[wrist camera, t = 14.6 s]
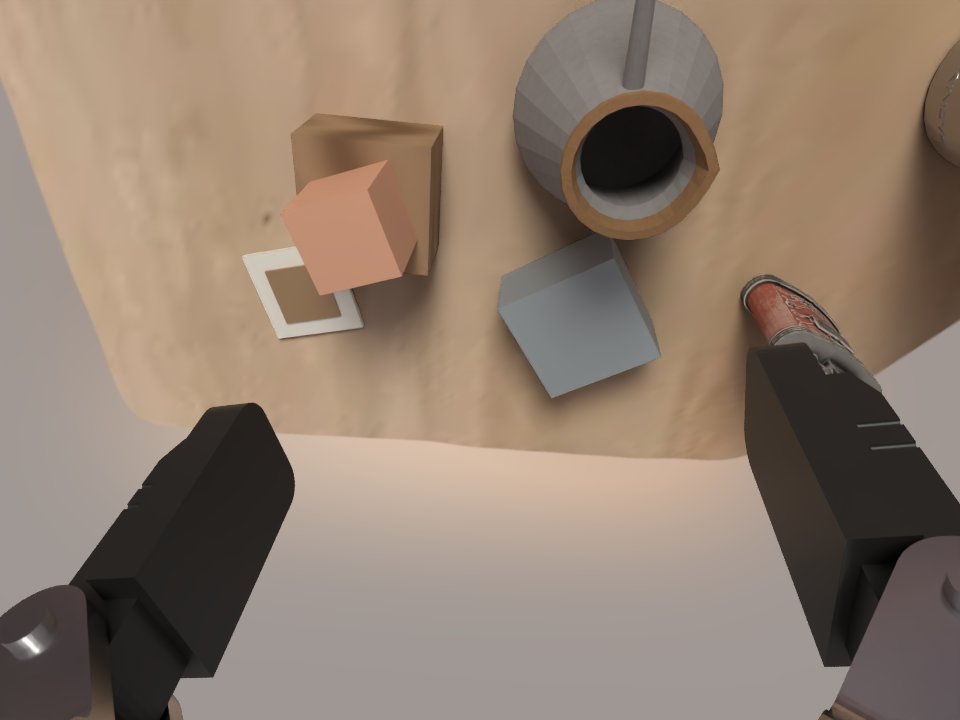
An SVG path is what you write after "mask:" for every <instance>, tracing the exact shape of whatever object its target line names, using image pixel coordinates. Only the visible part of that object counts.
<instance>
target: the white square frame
mask: <svg viewBox="0 0 960 720" xmlns="http://www.w3.org/2000/svg"><path fill="white" fill-rule="evenodd" d="M242 258H243V261H244V263H245V265H246V267H247V270H248V272H249V274H250V276H251V279H252V281H253V283H254V285H255V287H256V290H257V292H258V294H259V296H260V299H261V301H262V303H263V305H264V308H265V310H266V312H267V314H268V317H269V319H270V321H271V323H272V326H273V328H274V330H275V332H276V335H277V337H278V339H280V338H287V337H295V336H302V335H310V334H318V333H325V332H333V331H340V330H348V329H355V328H363V327H364V322H363V320H362V317H361V314H360V311H359V308H358V305H357V303H356V300H355V297H354V294H353V291H352V288H351V289H346V290H342V291H338V292H334V293H329V294H325V295H321V296H320V295H319V293H318V291H317V289H316V287H315V285H314V283H313V281H312V279H311V277H310V274H309V272H308V270H307V268H306V266H305V264H304V263H303V260H302V258H301V256H300V254H299V252H298V250H297V248H296V246H295V247H289V248H283V249H277V250H271V251H264V252H258V253H252V254H246V255H243V257H242Z"/></svg>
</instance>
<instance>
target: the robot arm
mask: <svg viewBox="0 0 960 720" xmlns="http://www.w3.org/2000/svg"><path fill="white" fill-rule="evenodd" d="M924 122H925V127H926V132H927V136H928V138H929V140H930V142H931V144H932V146H933V148H934V149H935V150H936V151H937V152H938V153H939V154H940V155H941V156H942V157H943V158H944V159H946V160H948V161H949V162H951V163H953V164H954V165H956V166H958V167H959V168H960V40H959V41H958V42H957V43H956V44H955V46H954V47H953V48H952V49H951V50H950V52H949V53H948V55H947V56H946V58H945V59H944V60H943V62H942V63H941V65H940V66H939V68H938V70H937V72H936V74H935V76H934V78H933V80H932V82H931V84H930V88H929V91H928V95H927V98H926V102H925V115H924ZM744 431H745V442H746V449H747V454H748V459H749V463H750V466H751V469H752V472H753V474H754V477H755V480H756V483H757V485H758V488H759V491H760V494H761V496H762V499H763V502H764V504H765V507H766V510H767V513H768V515H769V518H770V521H771V523H772V526H773V529H774V531H775V534H776V537H777V540H778V542H779V545H780V547H781V551H782V553H783V556H784V559H785V561H786V564H787V566H788V569H789V572H790V575H791V578H792V580H793V583H794V586H795V588H796V591H797V594H798V597H799V599H800V602H801V604H802V608H803V610H804V613H805V616H806V618H807V621H808V624H809V626H810V629H811V632H812V635H813V637H814V640H815V643H816V646H817V648H818V651H819V654H820V656H821V659H822V662H823V665H824V667H839V666H850V669H849V671H848V673H847V675H846V678H845V680H844V682H843V684H842V687H841V689H840V691H839V693H838V695H837V698H836V700H835V702H834V703H833V705H832V707H831V709H830V710H829V711H828V710H825V711H824V712H823V713H822V714H821V716H820V717H819V719H818V720H960V504H959V502H958V501H957V499H956V498H955V497H954V495H953V494H952V492H951V491H950V489H949V488H948V487H947V485H946V484H945V482H944V481H943V480H942V478H941V477H940V475H939V474H938V472H937V471H936V470H935V468H934V467H933V465H932V464H931V463H930V461H929V460H928V458H927V457H926V455H925V454H924V453H923V451H922V450H921V449H920V447H919V448H917V447H916V441H915V440H914V438H913V437H912V436H911V434H910V433H909V431H908V430H907V429H906V427H905V426H904V425H901V424H900V419H899V417H898V416H897V414H896V413H895V412H894V410H893V409H892V407H891V406H890V405H889V403H888V402H887V400H886V399H885V397H884V396H883V395H882V393H881V392H879V391H878V390H876V389H875V388H873V387H872V386H870V385H869V384H867V383H865V382H864V381H862V380H861V379H859V378H858V377H856V376H855V375H853V374H852V373H850V372H845V373H835V374H825V372H824V370H823V369H822V367H821V365H820V364H819V362H818V361H817V359H816V357H815V356H814V354H813V352H812V351H811V349H810V348H809V346H808V345H807V344H806V343H804V342H800V343H791V344H782V345H773V346H764V347H756V348H750V349H749V351H748V354H747V363H746V393H745V423H744ZM294 488H295V480H294V473H293V470H292V467H291V465H290V463H289V461H288V459H287V456H286V454H285V452H284V451H283V448H282V446H281V445H280V443H279V440H278V439H277V437H276V434H275V432H274V430H273V428H272V426H271V424H270V422H269V420H268V418H267V416H266V414H265V413H264V411H263V409H262V408H261V407H260V406H259V405H258V404H256V403H245V404H236V405H227V406H218V407H212V408H209V409H208V410H207V411H206V412H205V413H204V414H203V416H202V417H201V419H200V420H199V421H198V423H197V424H196V426H195V427H194V428H193V430H192V431H191V433H190V434H189V436H188V437H187V438H186V439H185V440H183V441H182V442H181V443H180V444H178V445H177V446H176V447H175V448H174V449H173V450H171V451H170V452H169V453H168V454H167V455H165V456H164V457H163V458H162V459H161V460H160V461H159V462H158V463H157V465H156V466H155V467H154V469H153V470H152V472H151V473H150V474H149V476H148V477H147V478H146V480H145V481H144V482H143V484H142V489H138V491H137V492H136V493H135V495H134V496H133V497H132V499H131V500H130V501H129V503H128V509H124V510H123V511H122V512H121V514H120V515H119V517H118V518H117V519H116V521H115V522H114V523H113V525H112V526H111V527H110V529H109V530H108V532H107V533H106V534H105V536H104V537H103V538H102V540H101V541H100V542H99V544H98V545H97V547H96V548H95V549H94V551H93V552H92V553H91V555H90V556H89V558H88V559H87V560H86V561H85V563H84V564H83V566H82V567H81V568H80V570H79V571H78V572H77V574H76V575H75V577H74V578H73V579H72V581H71V582H70V583H69V585H59V586H54V587H50V588H47V589H44V590H42V591H39V592H37V593H35V594H33V595H31V596H30V597H27V598H26V599H24V600H22V601H21V602H19V603H18V604H16V605H15V606H13V607H12V608H11V609H9V610H8V611H7V612H6V613H4V614H3V615H2V616H1V617H0V720H183V716H182V711H181V707H180V704H179V702H178V700H177V699H176V698H175V696H174V695H173V692H174V690H175V688H176V686H177V684H178V682H179V680H180V678H207V677H214V674H215V672H216V670H217V668H218V665H219V663H220V661H221V659H222V656H223V654H224V652H225V650H226V648H227V645H228V643H229V641H230V639H231V636H232V634H233V632H234V630H235V628H236V625H237V623H238V621H239V619H240V616H241V614H242V612H243V610H244V607H245V605H246V603H247V601H248V599H249V596H250V594H251V592H252V590H253V588H254V585H255V583H256V581H257V579H258V577H259V574H260V572H261V570H262V567H263V565H264V563H265V561H266V559H267V556H268V554H269V552H270V550H271V548H272V545H273V543H274V541H275V538H276V536H277V534H278V532H279V530H280V528H281V525H282V523H283V521H284V518H285V516H286V514H287V512H288V510H289V508H290V505H291V503H292V500H293V496H294Z"/></svg>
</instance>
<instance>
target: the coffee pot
mask: <svg viewBox="0 0 960 720" xmlns="http://www.w3.org/2000/svg"><path fill="white" fill-rule="evenodd" d="M722 108H723V80H722V76H721V71H720V67H719V63H718V58H717V55H716V53H715V52H714V50H713V48H712V46H711V45H710V43H709V41H708V39H707V38H706V36H705V34H704V32H703V31H702V30H701V29H700V28H699V27H698V26H697V25H696V24H695V23H694V22H692V21H691V20H690V19H689V18H688V17H687V16H686V15H685V14H684V13H683V12H682V11H679V10H677V9H675V8H673V7H671V6H669V5H666V4H664V3H662V2H660V1H658V0H600V1H595V2H593V3H591V4H589V5H587V6H585V7H583V8H581V9H579V10H577V11H575V12H572V13H570V14H568V15H567V16H566V17H565V18H563V19H562V20H561V21H560V22H559V23H558V24H557V25H555V26H554V27H553V28H552V29H551V30H550V31H548V32H547V33H546V34H545V35H544V36H543V38H542V39H541V41H540V42H539V43H538V45H537V46H536V48H535V49H534V51H533V52H532V53H531V55H530V56H529V58H528V59H527V61H526V64H525V66H524V69H523V71H522V74H521V77H520V79H519V82H518V85H517V87H516V94H515V103H514V111H513V120H514V128H515V135H516V143H517V145H518V147H519V150H520V152H521V155H522V157H523V160H524V162H525V165H526V167H527V168H528V169H529V171H530V172H531V173H532V175H533V176H534V177H535V179H536V180H537V181H538V182H539V184H540V185H541V186H542V187H543V188H544V189H545V190H547V191H548V192H549V193H551V194H552V195H553V196H555V197H556V198H557V199H559V200H560V201H561V202H564V203H566V204H567V205H568V207H569V208H570V210H571V211H572V212H573V214H574V215H575V216H576V217H577V219H578V220H579V221H580V222H582V223H583V224H584V225H586V226H587V227H588V228H590V229H591V230H592V231H594V232H597V233H599V234H602V235H604V236H607V237H609V238H615V239H623V240H634V239H643V238H648V237H651V236H654V235H657V234H660V233H662V232H665V231H667V230H668V229H670V228H671V227H673V226H674V225H676V224H678V223H679V222H681V221H682V220H683V219H684V218H685V217H686V216H687V215H688V214H689V213H690V212H691V211H692V210H693V209H694V208H695V207H696V205H697V204H698V203H699V201H700V200H701V199H702V197H703V196H704V195H705V193H706V192H707V191H708V189H709V188H710V186H711V184H712V182H713V181H714V179H715V177H716V176H717V174H718V172H719V170H720V168H719V164H718V159H717V155H716V151H715V148H714V145H713V142H714V140H715V136H716V133H717V130H718V126H719V123H720V120H721V116H722Z"/></svg>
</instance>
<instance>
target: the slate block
mask: <svg viewBox="0 0 960 720" xmlns="http://www.w3.org/2000/svg"><path fill="white" fill-rule="evenodd" d="M497 310H498V311H499V313H500V315H501V316H502V318H503V319H504V321H505V323H506V324H507V326H508V328H509V329H510V331H511V333H512V334H513V336H514V338H515V339H516V341H517V342H518V344H519V346H520V347H521V349H522V351H523V352H524V354H525V356H526V357H527V359H528V361H529V362H530V364H531V365H532V367H533V369H534V370H535V372H536V374H537V375H538V377H539V379H540V380H541V382H542V384H543V385H544V387H545V388H546V390H547V392H548V393H549V395H550V397H551V398H554V397H557V396H559V395H562V394H565V393H567V392H570V391H573V390H575V389H578V388H581V387H583V386H586V385H589V384H591V383H594V382H597V381H599V380H602V379H605V378H607V377H610V376H613V375H615V374H618V373H621V372H624V371H626V370H629V369H632V368H634V367H637V366H640V365H642V364H645V363H648V362H650V361H653V360H656V359H658V358H661V354H660V350H659V346H658V342H657V338H656V334H655V330H654V326H653V323H652V319H651V317H650V315H649V313H648V311H647V309H646V307H645V305H644V302H643V300H642V298H641V296H640V294H639V292H638V290H637V288H636V285H635V283H634V281H633V279H632V277H631V275H630V273H629V271H628V268H627V266H626V264H625V262H624V260H623V258H622V256H621V254H620V252H619V249H618V247H617V245H616V243H615V241H614V239H613V238H609V237H607V236H604V235H602V234H599V233H594V234H592V235H590V236H588V237H586V238H584V239H581V240H579V241H577V242H575V243H573V244H571V245H568V246H566V247H564V248H562V249H560V250H557V251H555V252H553V253H551V254H549V255H547V256H544V257H542V258H540V259H538V260H536V261H534V262H531V263H529V264H527V265H525V266H523V267H520V268H518V269H516V270H514V271H512V272H510V273H507V274H505V275H503V276H502V281H501V288H500V295H499V302H498V309H497Z"/></svg>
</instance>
